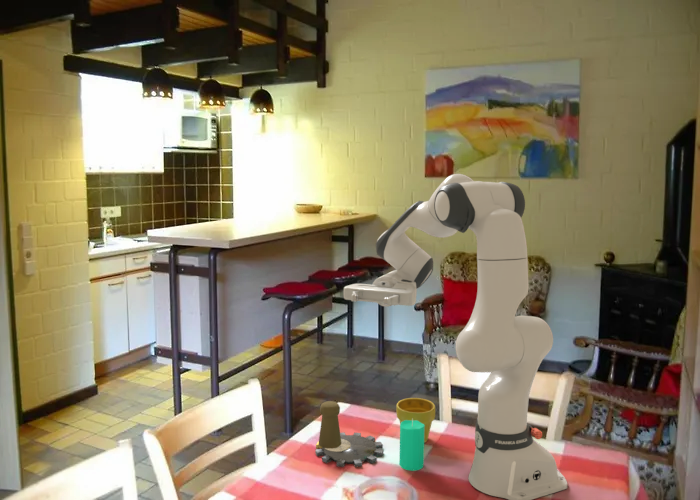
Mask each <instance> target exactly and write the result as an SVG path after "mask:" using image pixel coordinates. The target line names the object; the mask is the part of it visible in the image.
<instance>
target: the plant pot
mask: <svg viewBox="0 0 700 500" xmlns="http://www.w3.org/2000/svg"><path fill="white" fill-rule="evenodd" d="M395 406H396V410H395V411H396V418H397V419H398V421H399V425H400V424H401V422H403V421H404V420H410V421H412V418H413V421H414V420H418V421H419V422H421V423H422V424H424V425H425V428H424V444H425V443H426V442H427V441H428V439H429V435H430V432H431V428H432V422H433V421H434V420H435V418H436V405H435V404H434V402H432V401H431V400H429V399H425V398H420V397H408V398H407V397H406V398H403V399H401V400H398V402H397V403H396V405H395Z"/></svg>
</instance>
